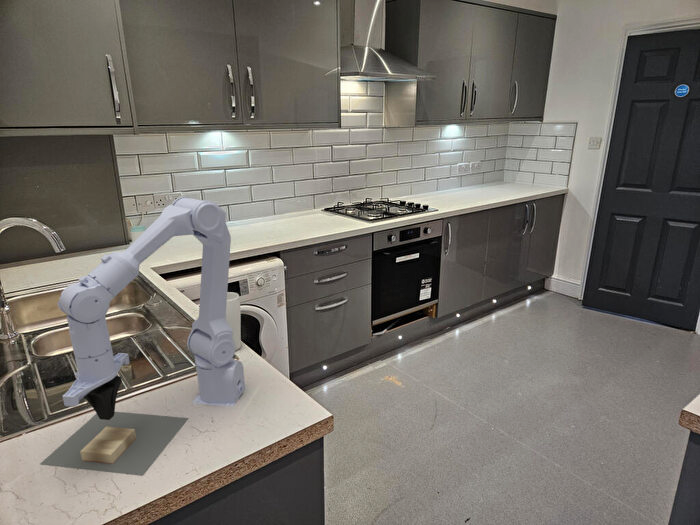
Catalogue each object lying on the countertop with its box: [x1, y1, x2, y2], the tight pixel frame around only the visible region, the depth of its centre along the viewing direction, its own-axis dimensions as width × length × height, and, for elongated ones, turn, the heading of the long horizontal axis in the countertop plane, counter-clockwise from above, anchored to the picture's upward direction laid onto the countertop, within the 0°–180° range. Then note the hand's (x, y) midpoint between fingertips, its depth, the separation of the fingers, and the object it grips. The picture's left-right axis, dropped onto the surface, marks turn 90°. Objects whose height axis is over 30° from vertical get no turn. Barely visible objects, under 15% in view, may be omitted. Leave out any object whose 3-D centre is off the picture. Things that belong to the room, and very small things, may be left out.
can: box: [130, 225, 147, 244], centre depth 219 cm, size 7×7×12 cm
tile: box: [80, 427, 136, 464], centre depth 84 cm, size 6×2×7 cm
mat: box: [39, 411, 190, 477], centre depth 87 cm, size 20×16×1 cm
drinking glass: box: [226, 291, 242, 352], centre depth 121 cm, size 7×7×15 cm
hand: (106, 417), depth 83 cm, fingers closed
